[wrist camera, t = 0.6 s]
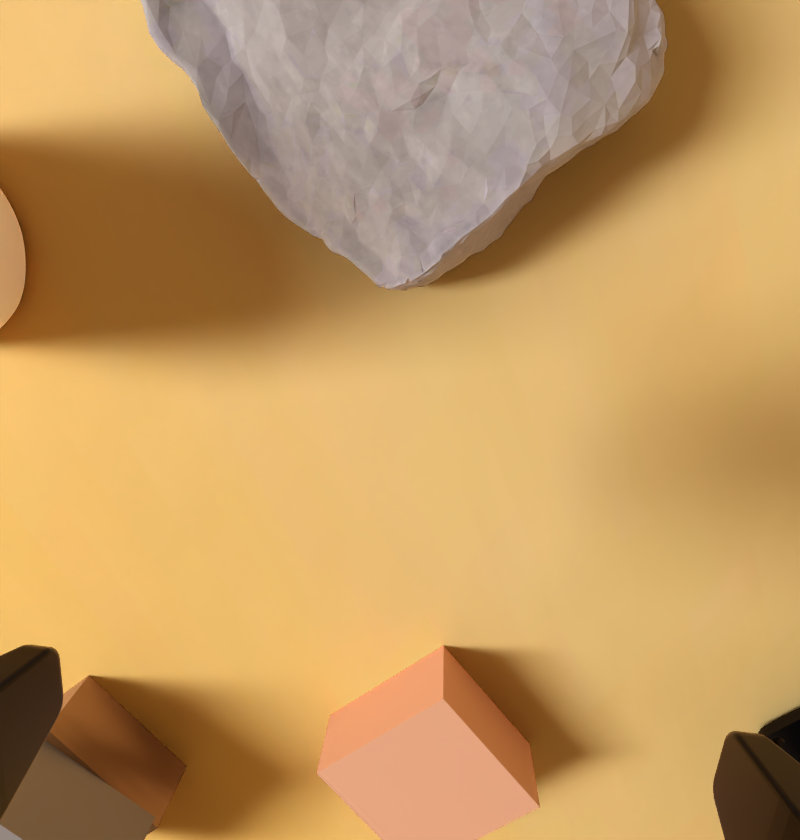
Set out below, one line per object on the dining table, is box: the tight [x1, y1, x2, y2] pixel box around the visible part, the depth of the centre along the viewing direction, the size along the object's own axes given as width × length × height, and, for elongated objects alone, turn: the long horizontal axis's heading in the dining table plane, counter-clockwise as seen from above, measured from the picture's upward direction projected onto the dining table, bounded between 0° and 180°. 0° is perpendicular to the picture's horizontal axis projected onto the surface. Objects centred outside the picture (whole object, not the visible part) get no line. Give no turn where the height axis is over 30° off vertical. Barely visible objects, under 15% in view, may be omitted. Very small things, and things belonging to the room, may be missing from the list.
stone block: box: [141, 0, 668, 290], centre depth 17 cm, size 12×5×10 cm
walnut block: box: [46, 676, 187, 834], centre depth 25 cm, size 6×6×3 cm
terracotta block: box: [317, 646, 540, 840], centre depth 24 cm, size 6×6×3 cm
